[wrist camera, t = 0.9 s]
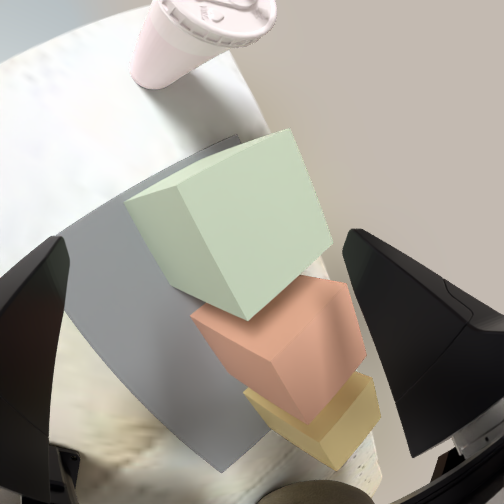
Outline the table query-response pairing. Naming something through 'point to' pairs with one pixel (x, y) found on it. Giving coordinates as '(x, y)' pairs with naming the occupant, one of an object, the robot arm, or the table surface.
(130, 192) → the grey mat
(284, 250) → the sage block
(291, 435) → the mustard block
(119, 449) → the table surface
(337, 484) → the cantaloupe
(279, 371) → the terracotta block
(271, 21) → the smoothie
